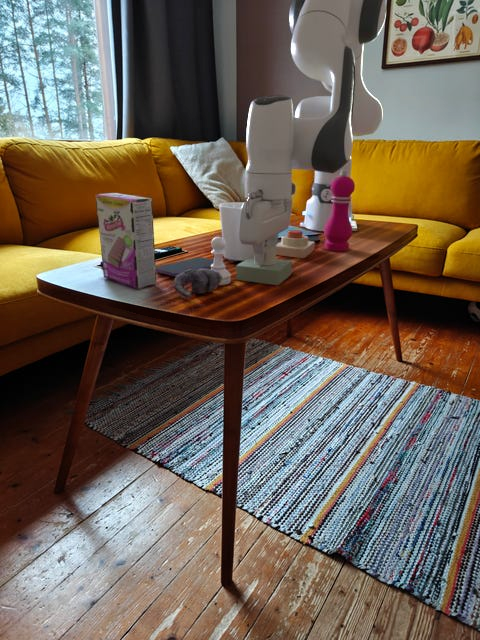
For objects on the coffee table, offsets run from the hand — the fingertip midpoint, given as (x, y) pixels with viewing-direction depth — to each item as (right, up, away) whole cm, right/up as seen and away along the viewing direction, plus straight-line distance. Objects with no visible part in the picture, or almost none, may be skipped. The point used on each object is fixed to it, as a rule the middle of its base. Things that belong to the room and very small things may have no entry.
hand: (265, 258), depth 92 cm
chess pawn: (-9, -5, -2) cm, 11 cm away
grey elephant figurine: (-13, -8, -9) cm, 17 cm away
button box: (+9, +5, +23) cm, 25 cm away
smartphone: (-16, -2, +6) cm, 18 cm away
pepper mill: (+20, +6, +27) cm, 35 cm away
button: (+9, +8, +21) cm, 25 cm away
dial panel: (0, -4, +1) cm, 4 cm away
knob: (0, -1, 0) cm, 1 cm away
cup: (-5, +1, +14) cm, 15 cm away
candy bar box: (-27, -5, -3) cm, 28 cm away
